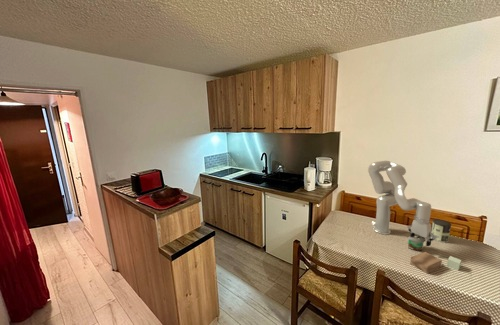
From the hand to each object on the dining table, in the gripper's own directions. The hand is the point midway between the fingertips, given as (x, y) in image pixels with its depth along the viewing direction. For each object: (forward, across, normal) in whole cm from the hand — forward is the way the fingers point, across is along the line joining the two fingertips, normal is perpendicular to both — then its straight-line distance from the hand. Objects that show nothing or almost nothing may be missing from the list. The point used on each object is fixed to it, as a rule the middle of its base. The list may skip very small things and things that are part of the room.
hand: (420, 242), depth 137 cm
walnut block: (+7, +11, -13) cm, 18 cm away
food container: (+7, -1, 0) cm, 7 cm away
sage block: (+7, +18, +2) cm, 19 cm away
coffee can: (+7, -3, +29) cm, 30 cm away
